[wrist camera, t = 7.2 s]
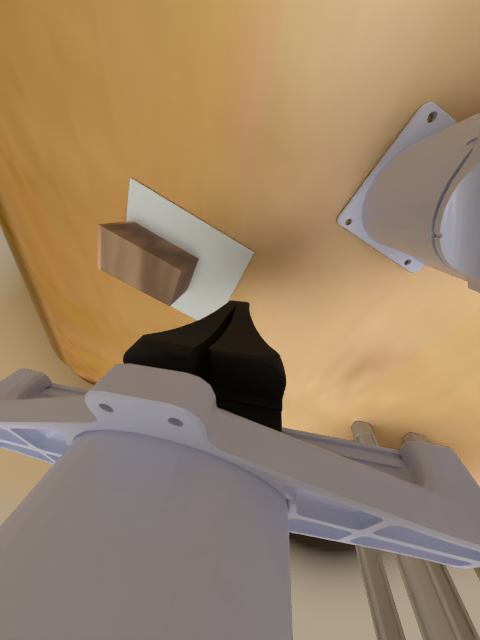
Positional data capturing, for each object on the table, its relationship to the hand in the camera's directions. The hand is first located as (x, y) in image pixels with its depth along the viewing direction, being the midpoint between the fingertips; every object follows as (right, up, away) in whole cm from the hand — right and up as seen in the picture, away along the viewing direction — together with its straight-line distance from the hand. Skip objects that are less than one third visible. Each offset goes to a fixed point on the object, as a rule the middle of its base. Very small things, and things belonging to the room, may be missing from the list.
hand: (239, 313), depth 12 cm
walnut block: (-6, +4, +7) cm, 10 cm away
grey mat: (-7, +6, +9) cm, 13 cm away
